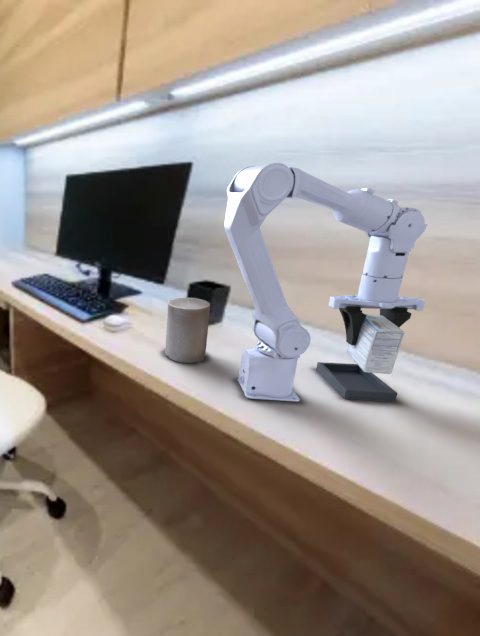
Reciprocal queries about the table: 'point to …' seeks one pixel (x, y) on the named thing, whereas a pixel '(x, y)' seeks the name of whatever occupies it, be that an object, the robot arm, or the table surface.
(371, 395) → the pad
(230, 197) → the robot arm
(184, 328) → the pillar candle
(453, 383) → the table surface
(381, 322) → the medicine box
